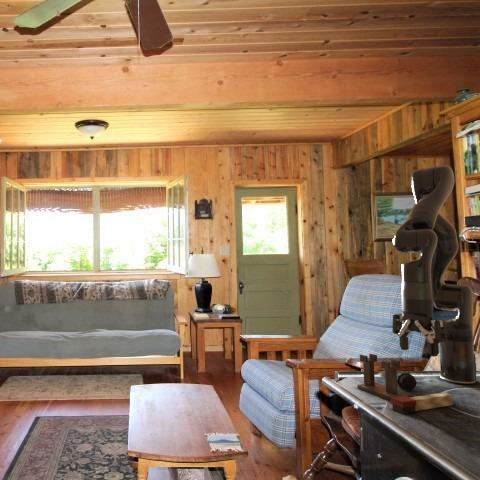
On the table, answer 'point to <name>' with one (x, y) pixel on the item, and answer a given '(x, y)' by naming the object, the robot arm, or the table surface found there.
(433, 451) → the table surface
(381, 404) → the table surface
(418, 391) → the table surface
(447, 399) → the brush
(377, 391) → the rack
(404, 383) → the microphone
